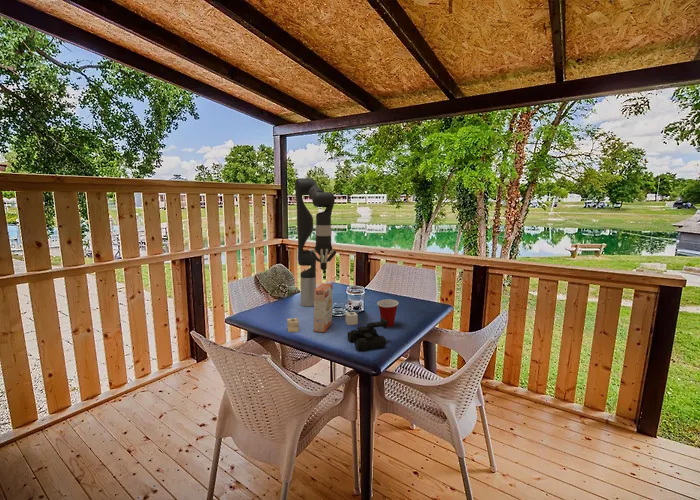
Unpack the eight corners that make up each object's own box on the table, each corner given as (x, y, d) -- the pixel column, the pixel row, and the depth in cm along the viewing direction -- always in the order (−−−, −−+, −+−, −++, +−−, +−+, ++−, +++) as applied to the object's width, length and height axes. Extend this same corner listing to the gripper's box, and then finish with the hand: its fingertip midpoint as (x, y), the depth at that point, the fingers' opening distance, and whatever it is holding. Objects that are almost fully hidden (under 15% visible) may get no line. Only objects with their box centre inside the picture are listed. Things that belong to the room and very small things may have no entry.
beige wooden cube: (345, 321, 169) (345, 312, 168) (354, 321, 170) (354, 311, 169) (348, 325, 164) (348, 315, 163) (357, 324, 165) (357, 314, 165)
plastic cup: (372, 322, 168) (373, 300, 166) (391, 320, 172) (391, 298, 170) (383, 330, 158) (383, 306, 156) (402, 327, 162) (402, 304, 160)
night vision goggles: (347, 339, 147) (347, 318, 146) (378, 335, 153) (379, 314, 151) (358, 352, 134) (358, 329, 133) (392, 347, 139) (393, 325, 138)
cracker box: (325, 333, 154) (325, 290, 151) (313, 331, 155) (313, 289, 152) (333, 322, 167) (333, 283, 164) (321, 321, 168) (321, 282, 165)
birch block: (287, 328, 159) (287, 318, 158) (297, 327, 160) (297, 317, 159) (288, 332, 154) (288, 322, 153) (298, 331, 155) (298, 321, 155)
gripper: (335, 233, 160) (335, 268, 162) (308, 234, 156) (308, 269, 159) (338, 235, 153) (338, 271, 155) (310, 235, 149) (311, 272, 152)
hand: (323, 270), depth 157 cm, fingers closed
